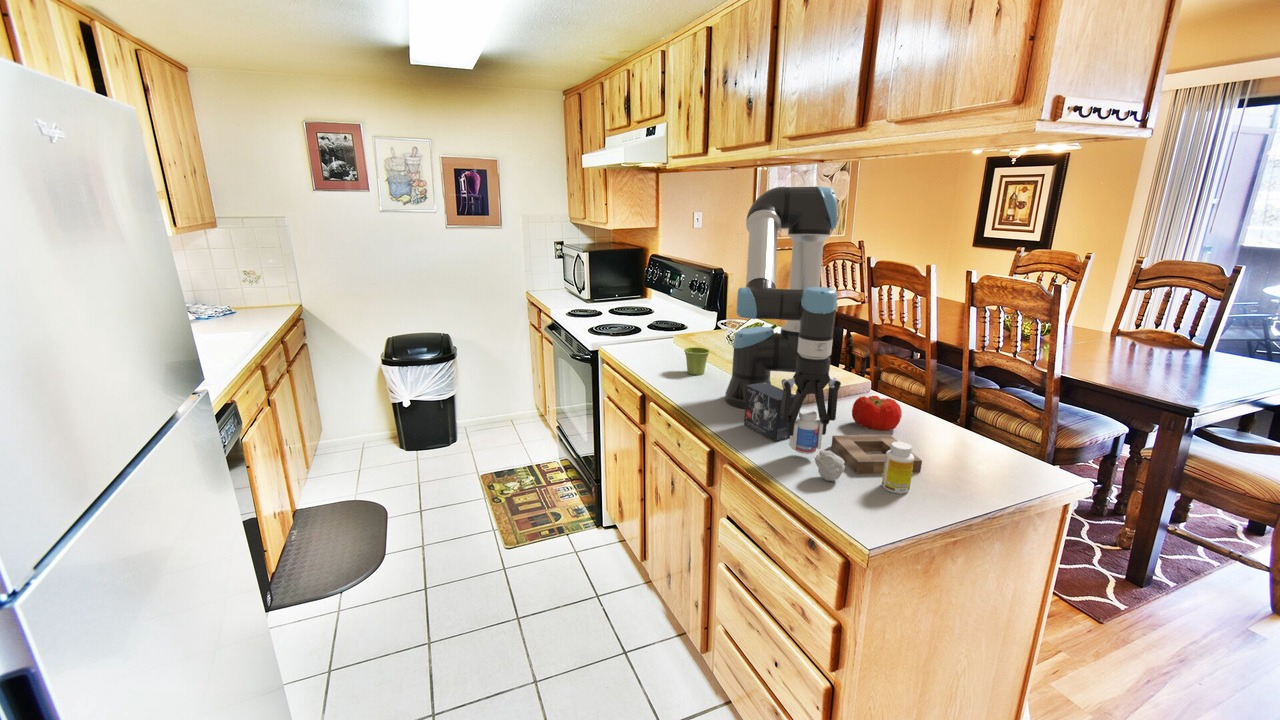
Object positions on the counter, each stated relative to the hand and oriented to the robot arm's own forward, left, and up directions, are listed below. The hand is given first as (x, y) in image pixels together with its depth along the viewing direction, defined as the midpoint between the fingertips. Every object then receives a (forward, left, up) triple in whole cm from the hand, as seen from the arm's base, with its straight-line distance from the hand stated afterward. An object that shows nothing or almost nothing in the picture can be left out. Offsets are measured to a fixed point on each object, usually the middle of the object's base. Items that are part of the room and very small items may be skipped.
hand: (804, 446), depth 133 cm
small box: (-17, -4, -3) cm, 17 cm away
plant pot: (-72, -15, -3) cm, 73 cm away
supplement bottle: (+16, +15, -3) cm, 22 cm away
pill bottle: (0, 0, -1) cm, 1 cm away
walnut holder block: (+1, +17, -3) cm, 17 cm away
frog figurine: (+11, +2, -3) cm, 12 cm away
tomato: (-19, +27, -3) cm, 33 cm away
